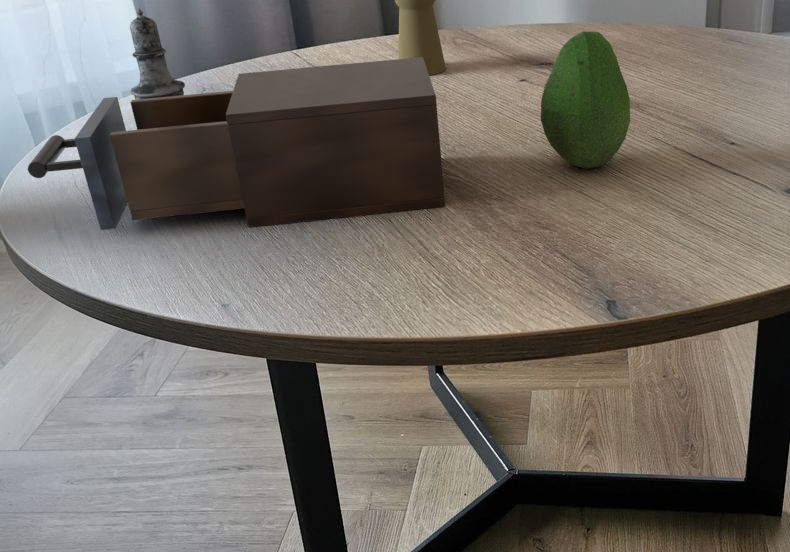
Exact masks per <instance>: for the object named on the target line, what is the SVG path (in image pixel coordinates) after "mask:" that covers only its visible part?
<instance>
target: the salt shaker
mask: <svg viewBox="0 0 790 552" xmlns="http://www.w3.org/2000/svg"><path fill="white" fill-rule="evenodd" d="M136 11H137V12H136V14H137V15H138V16H136V18H135V19H133V20H132V21H131V22H130V23H129V31H130V35H131V40H132V43H133V49H134V52H132V57H133V58H135V59H136V63H137V67H138V70H139V82H138V84H137V85H136V86H134V87H132V88H131V89H130V91H129V93H130V94H131V96H133V97H134V100H137V99H148V98H159V97H170V96H180V95H185V91H184V89H185V87H186V83H185V82H184V81H182V80H178V79H175V78H173V77H172V75H171V73H170V71H169V70H168V69H169V68H168V65H167V60H166V56H165V55H166V53H167V49H166V48H163V46H162V42H161V38H160V37H161V36H160V33H159V29H158V25H157V23H156V21H155V20H154V19H152V18H151V17H147V16H145V15H144V11H142V9H141V8H137V10H136Z"/></svg>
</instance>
